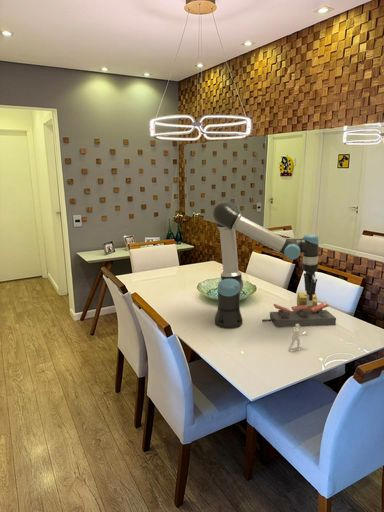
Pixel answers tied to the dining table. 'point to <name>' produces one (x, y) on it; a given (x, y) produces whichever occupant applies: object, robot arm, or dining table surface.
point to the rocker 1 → (282, 308)
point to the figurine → (296, 338)
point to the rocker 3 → (319, 307)
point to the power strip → (301, 318)
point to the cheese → (305, 300)
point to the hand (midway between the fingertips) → (309, 305)
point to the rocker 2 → (300, 308)
